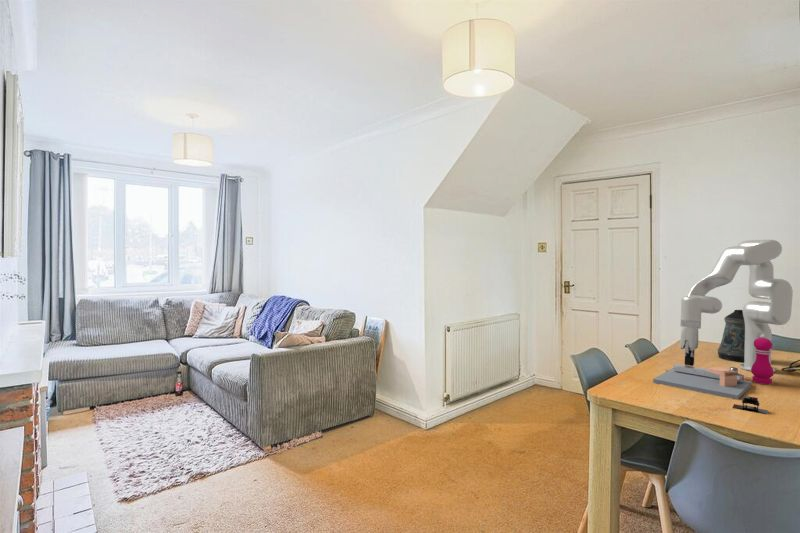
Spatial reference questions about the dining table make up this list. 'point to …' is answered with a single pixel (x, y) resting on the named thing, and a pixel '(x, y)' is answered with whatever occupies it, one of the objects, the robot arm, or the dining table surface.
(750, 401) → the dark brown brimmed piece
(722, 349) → the beer stein
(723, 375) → the block
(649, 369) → the dining table surface
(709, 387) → the slate board
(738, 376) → the steel link
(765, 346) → the pepper mill
